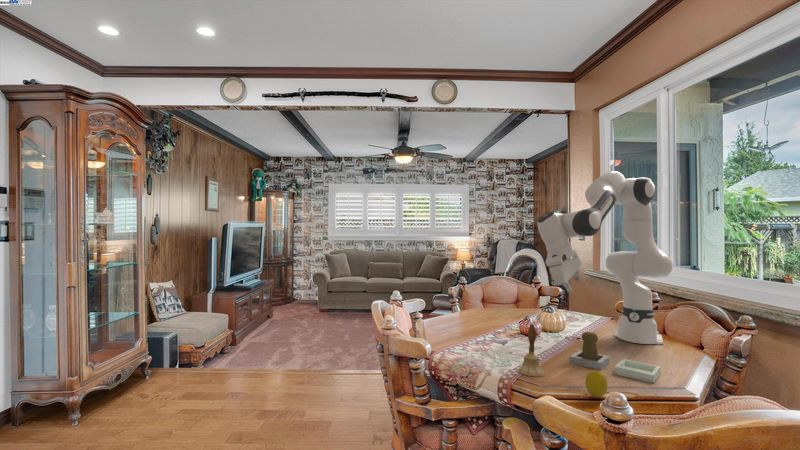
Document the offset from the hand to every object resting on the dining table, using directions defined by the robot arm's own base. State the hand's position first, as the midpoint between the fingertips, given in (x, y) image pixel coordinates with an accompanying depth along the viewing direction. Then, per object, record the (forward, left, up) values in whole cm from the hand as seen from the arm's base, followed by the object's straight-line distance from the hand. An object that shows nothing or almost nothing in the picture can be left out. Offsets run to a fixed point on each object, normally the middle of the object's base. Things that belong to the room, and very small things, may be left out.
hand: (574, 285), depth 148 cm
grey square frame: (+6, +8, -26) cm, 28 cm away
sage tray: (+6, +23, -26) cm, 35 cm away
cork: (+6, +8, -27) cm, 28 cm away
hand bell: (+30, -3, -27) cm, 41 cm away
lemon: (+36, +19, -27) cm, 49 cm away
